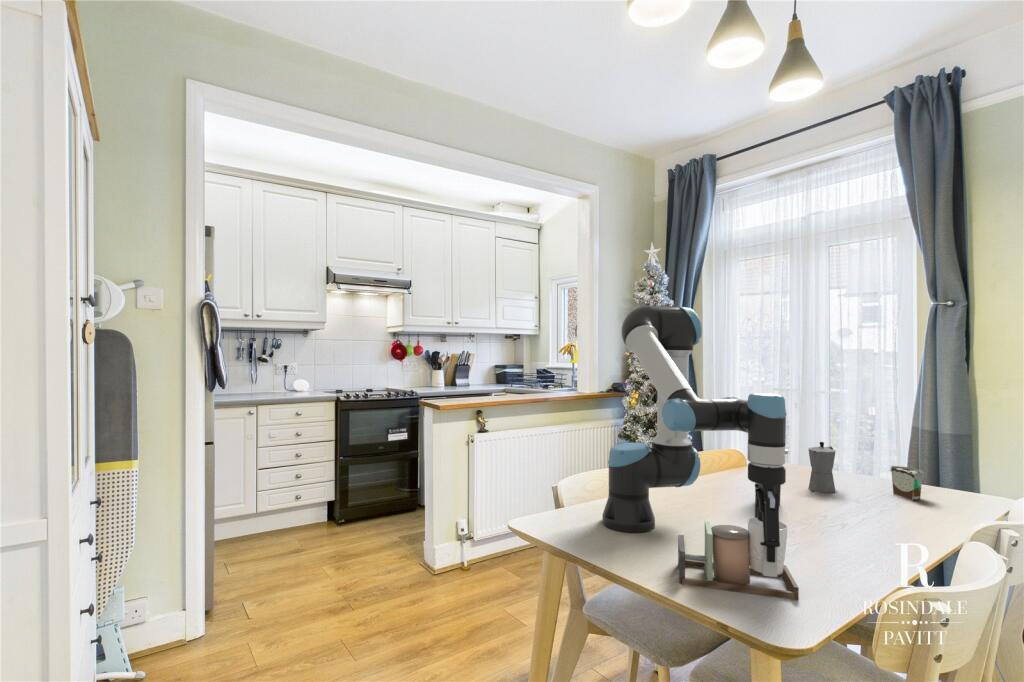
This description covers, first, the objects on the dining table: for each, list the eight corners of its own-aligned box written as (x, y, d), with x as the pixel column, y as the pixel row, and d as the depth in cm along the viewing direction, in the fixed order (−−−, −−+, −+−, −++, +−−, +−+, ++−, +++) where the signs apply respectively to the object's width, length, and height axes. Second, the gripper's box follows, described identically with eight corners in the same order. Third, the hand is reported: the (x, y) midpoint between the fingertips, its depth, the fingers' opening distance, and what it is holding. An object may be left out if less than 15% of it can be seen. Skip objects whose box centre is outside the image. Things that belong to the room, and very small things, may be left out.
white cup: (790, 579, 109) (792, 531, 109) (750, 573, 110) (752, 527, 111) (779, 563, 117) (781, 519, 117) (742, 559, 118) (744, 515, 118)
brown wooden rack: (679, 584, 113) (679, 551, 113) (678, 563, 124) (678, 534, 124) (798, 599, 106) (798, 565, 106) (785, 576, 117) (785, 545, 118)
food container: (933, 502, 178) (933, 473, 178) (915, 502, 178) (915, 473, 178) (907, 493, 190) (906, 465, 191) (890, 492, 191) (890, 465, 191)
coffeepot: (827, 495, 186) (827, 445, 186) (800, 489, 193) (800, 441, 194) (846, 489, 195) (846, 441, 195) (819, 483, 202) (819, 437, 203)
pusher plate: (678, 580, 114) (679, 531, 114) (677, 564, 123) (678, 518, 123) (712, 584, 112) (712, 534, 112) (709, 567, 121) (709, 521, 121)
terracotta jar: (714, 585, 113) (712, 535, 113) (711, 570, 120) (709, 523, 120) (753, 588, 110) (751, 537, 111) (748, 573, 118) (745, 525, 118)
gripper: (796, 475, 103) (796, 590, 103) (775, 456, 123) (775, 552, 122) (755, 472, 105) (755, 585, 105) (741, 453, 125) (741, 549, 124)
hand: (766, 567), depth 113 cm, fingers closed on white cup, 7 cm apart
